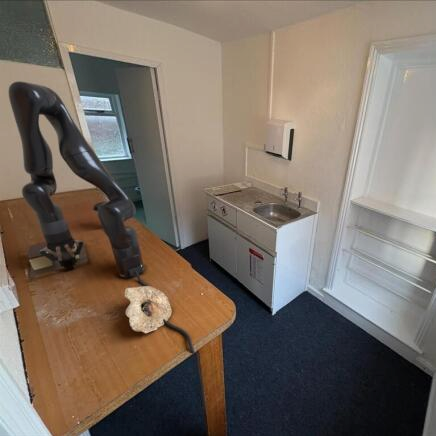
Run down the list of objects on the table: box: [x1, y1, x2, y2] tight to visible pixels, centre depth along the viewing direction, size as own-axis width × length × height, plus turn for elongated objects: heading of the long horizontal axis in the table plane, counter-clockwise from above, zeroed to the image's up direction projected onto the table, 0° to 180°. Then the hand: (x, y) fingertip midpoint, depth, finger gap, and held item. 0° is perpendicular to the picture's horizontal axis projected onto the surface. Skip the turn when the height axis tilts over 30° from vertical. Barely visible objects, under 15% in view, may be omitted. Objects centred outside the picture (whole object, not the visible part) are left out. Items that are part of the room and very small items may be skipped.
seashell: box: [124, 285, 172, 334], centre depth 81 cm, size 18×14×8 cm
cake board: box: [29, 243, 89, 278], centre depth 104 cm, size 20×18×2 cm
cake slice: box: [72, 236, 79, 259], centre depth 107 cm, size 12×3×6 cm, turn 44°
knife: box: [62, 251, 75, 272], centre depth 102 cm, size 21×2×6 cm, turn 44°
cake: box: [27, 241, 53, 270], centre depth 100 cm, size 12×6×6 cm, turn 44°
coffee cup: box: [92, 201, 107, 228], centre depth 130 cm, size 10×10×15 cm
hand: (69, 264), depth 99 cm, fingers closed on knife, 2 cm apart
